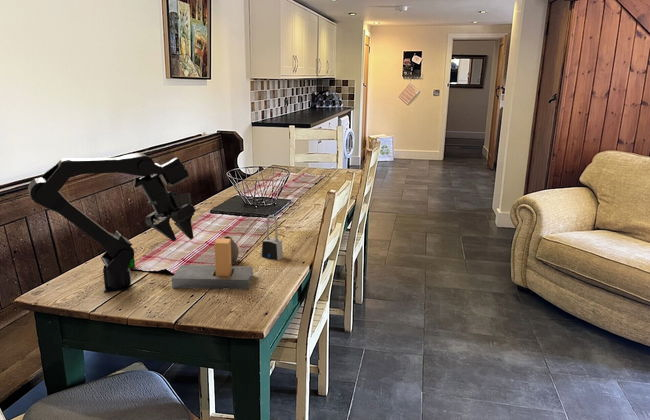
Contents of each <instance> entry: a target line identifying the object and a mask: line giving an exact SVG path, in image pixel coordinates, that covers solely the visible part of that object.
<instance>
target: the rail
mask: <svg viewBox="0 0 650 420" xmlns="http://www.w3.org/2000/svg"><path fill="white" fill-rule="evenodd" d="M231 266H232V276H216V269H215V265H211V264H210V265H209V264H207V265H204V264H203V265H202V264H201V265H200V264H197V265H196V264H180V266H179V267H178V269H177V270H176V271H175V273H174V274H173V276H172V277H171V288H172V289H204V290H205V289H211V290H249V289H250V285H251V282H252V280H253V276H254V266H251V265H250V266H248V265H245V266H244V265H243V266H242V265H231Z"/></svg>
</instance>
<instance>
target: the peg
mask: <svg viewBox="0 0 650 420" xmlns="http://www.w3.org/2000/svg"><path fill="white" fill-rule="evenodd" d="M214 262H215V263H214V264H215V265H214V266H215V269H216V276H232V266H233V265H232V264H231V239H223V238H216V240H215V241H214Z"/></svg>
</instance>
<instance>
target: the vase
mask: <svg viewBox="0 0 650 420" xmlns="http://www.w3.org/2000/svg"><path fill="white" fill-rule="evenodd" d="M222 239H231V265H232V264H235V262H236V261H237V259H238V258H239V247H238V244H237V243H236V242H235V241H234V239H233V238H232V237H231V236H230V235H226V236H224V237H223V238H222Z"/></svg>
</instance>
